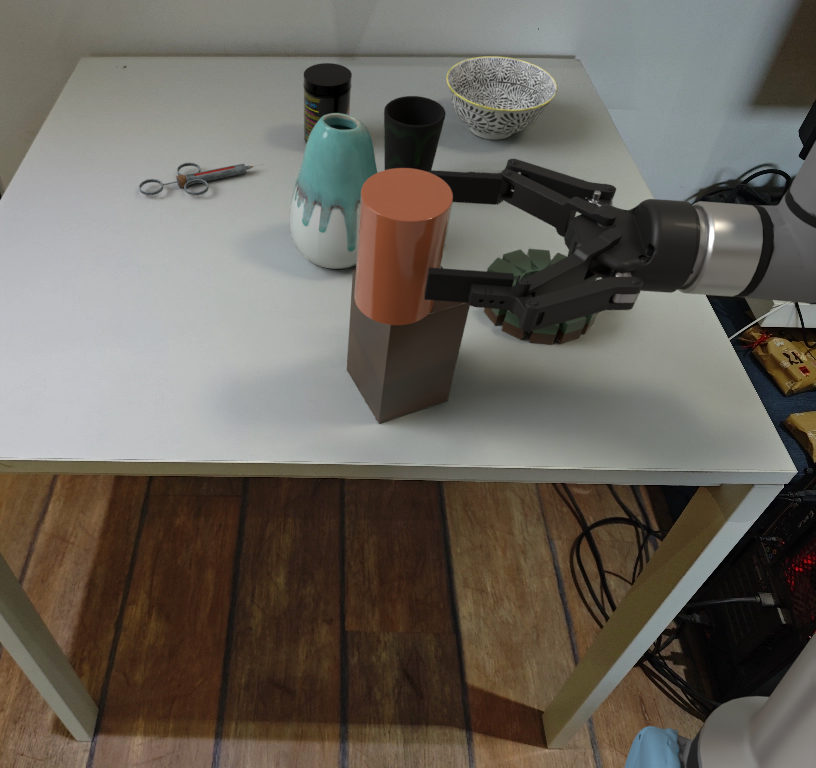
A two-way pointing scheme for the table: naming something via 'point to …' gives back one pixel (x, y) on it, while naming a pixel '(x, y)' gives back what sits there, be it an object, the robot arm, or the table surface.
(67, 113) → the table surface
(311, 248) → the vase
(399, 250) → the orange glossy cylinder
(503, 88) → the bowl
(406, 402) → the dark brown rectangular block
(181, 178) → the syringe
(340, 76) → the supplement container
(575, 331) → the segmented green ring
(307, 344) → the table surface
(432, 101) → the cup
